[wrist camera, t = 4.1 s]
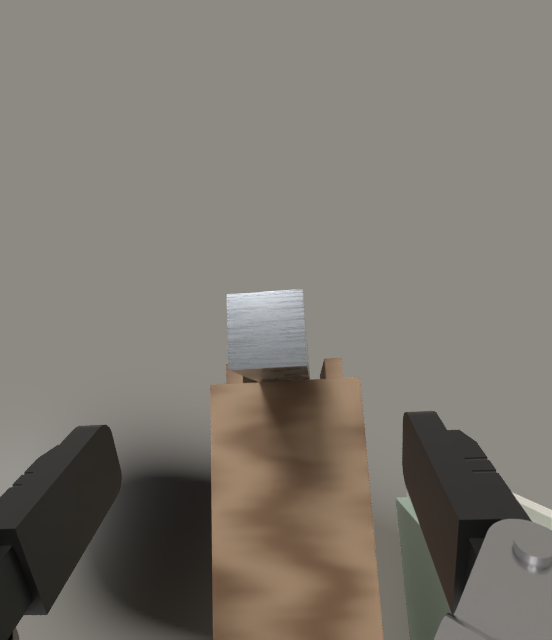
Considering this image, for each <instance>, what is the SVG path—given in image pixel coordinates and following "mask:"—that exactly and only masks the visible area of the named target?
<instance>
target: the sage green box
mask: <svg viewBox="0 0 552 640" xmlns="http://www.w3.org/2000/svg"><path fill="white" fill-rule="evenodd" d="M406 493H407V497H400V498H396V507H397V516H398V527H399V536H400V546H401V556H402V566H403V575H404V585H405V595H406V605H407V614H408V624H409V634H410V640H434V637H435V635H436V633H437V630H438V628H439V626H440V624H441V622H442V620H443V618H444V616H445V615H446V614H447V613H450V614H452V613H451V610H450V608H449V605H448V602H447V599H446V597H445V594H444V591H443V588H442V585H441V583H440V580H439V577H438V574H437V572H436V569H435V566H434V563H433V560H432V558H431V555H430V552H429V549H428V546H427V544H426V541H425V538H424V535H423V533H422V530H421V527H420V524H419V521H418V519H417V516H416V513H415V510H414V508H413V505H412V502H411V499H410V496H409V494H408V491H407V488H406ZM513 495H514V496H515V498H516V499H517V500H518V502H519V503H520V505H521V506H522V508H523V509H524V510H525V512H526V513H527V515H528V516H529V518H530V519H531V520H532V522H534V523H537V524H540V525H542V526H544V527H547V528H548V529H550V530H552V510H550V509H548V508H546V507H544V506H541V505H539V504H537V503H535V502H532V501H530V500H528V499H525V498H523V497H521V496H519V495H517V494H514V493H513Z"/></svg>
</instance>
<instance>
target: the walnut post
mask: <svg viewBox="0 0 552 640" xmlns="http://www.w3.org/2000/svg"><path fill="white" fill-rule="evenodd" d="M226 378H227V384H220V385H210V386H211V387H210V391H211V475H212V476H211V477H212V478H211V479H212V480H211V483H212V567H213V568H212V571H213V572H212V574H213V640H384V639H383V628H382V617H381V605H380V595H379V583H378V572H377V562H376V550H375V539H374V528H373V516H372V505H371V494H370V483H369V473H368V461H367V449H366V438H365V427H364V416H363V405H362V394H361V383H360V378H359V377H355V378H343V373H342V361H341V358H331V359H324V363H323V367H322V370H321V374H320V379H315V380H296V381H276V382H257V381H255V380H252V379H249V378H247V377H244V376H242V375H239V374H237V373H234V372H232V371H229V370H228V364H227V365H226Z"/></svg>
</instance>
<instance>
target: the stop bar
mask: <svg viewBox="0 0 552 640" xmlns="http://www.w3.org/2000/svg"><path fill="white" fill-rule="evenodd" d="M227 326H228V327H227V328H228V370H229V371H232V372H234V373H237V374H239V375H242V376H244V377H247V378H249V379H252V380H255V381H257V382H276V381H296V380H310V374H309V359H308V347H307V335H306V324H305V314H304V302H303V290H302V289H296V290H282V291H268V292H254V293H240V294H227Z"/></svg>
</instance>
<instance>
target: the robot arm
mask: <svg viewBox="0 0 552 640" xmlns="http://www.w3.org/2000/svg"><path fill="white" fill-rule="evenodd" d="M402 456H403V457H402V465H403V474H404V480H405V485H406V488H407V491H408V494H409V496H410V499H411V502H412V505H413V508H414V510H415V513H416V516H417V519H418V521H419V524H420V527H421V530H422V533H423V535H424V538H425V541H426V544H427V546H428V549H429V552H430V555H431V558H432V560H433V563H434V566H435V569H436V572H437V574H438V577H439V580H440V583H441V585H442V588H443V591H444V594H445V597H446V599H447V602H448V605H449V608H450V610H451V613H452V614H450V613H447V614H446V615H445V616H444V618H443V620H442V622H441V624H440V626H439V628H438V630H437V633H436V635H435V637H434V640H552V530H550V529H548V528H547V527H544V526H542V525H540V524H537V523H534V522H532V520H531V519H530V518H529V516H528V515H527V513H526V512H525V510H524V509H523V508H522V506H521V505H520V503H519V502H518V500H517V499H516V498H515V496H514V495H513V493H512V492H511V491H510V489H509V488H508V486H507V485H506V483H505V482H504V481H503V479H502V478H501V476H500V475H499V473H496V469H495V468H494V466H493V465H492V463H491V462H490V461H489V460H487V456H486V455H485V453H484V452H483V451H482V449H481V448H480V446H479V445H478V443H477V442H476V441H474V440H473V439H471V438H470V437H469V436H467V435H466V434H464V433H463V432H462V431H460V430H446V428H445V426H444V424H443V423H442V421H441V420H440V418H439V416H438V415H437V413H436V412H435V411H424V412H423V411H422V412H405V413H404V416H403V455H402ZM121 479H122V474H121V468H120V464H119V461H118V456H117V452H116V448H115V444H114V440H113V436H112V432H111V430H110V428H109V427H108V426H107V425H90V426H78V427H76V428H75V429H74V430H73V431H72V432H71V433H70V434H69V435H68V436H67V437H66V438H65V440H63V441H62V443H61V444H60V445H57V446H56V447H54V448H53V449H51V450H50V451H48V452H47V453H45V454H44V455H42V456H40V457H39V458H38V459H37V460H36V461H35V462H34V463H33V464H32V465H31V466H30V467H29V468H28V469H27V470H26V471H25V474H24V475H21V476H20V477H19V478H18V480H16V482H15V483H14V484H13V487H11V488H9V489H8V490H7V491H6V492H5V493H4V494H3V495H2V496H1V497H0V640H19V634H18V631H17V629H16V626H17V624H18V623H19V621H20V620H21V618H22V617H23V615H47V614H48V612H49V611H50V609H51V607H52V606H53V604H54V602H55V600H56V599H57V597H58V595H59V594H60V592H61V590H62V588H63V587H64V585H65V583H66V582H67V580H68V578H69V577H70V575H71V573H72V572H73V570H74V568H75V567H76V565H77V563H78V562H79V560H80V558H81V556H82V555H83V553H84V551H85V550H86V548H87V546H88V544H89V543H90V541H91V540H92V538H93V536H94V534H95V533H96V531H97V529H98V528H99V526H100V524H101V522H102V521H103V519H104V517H105V516H106V514H107V512H108V511H109V509H110V507H111V506H112V504H113V502H114V501H115V499H116V497H117V495H118V493H119V490H120V487H121Z"/></svg>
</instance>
